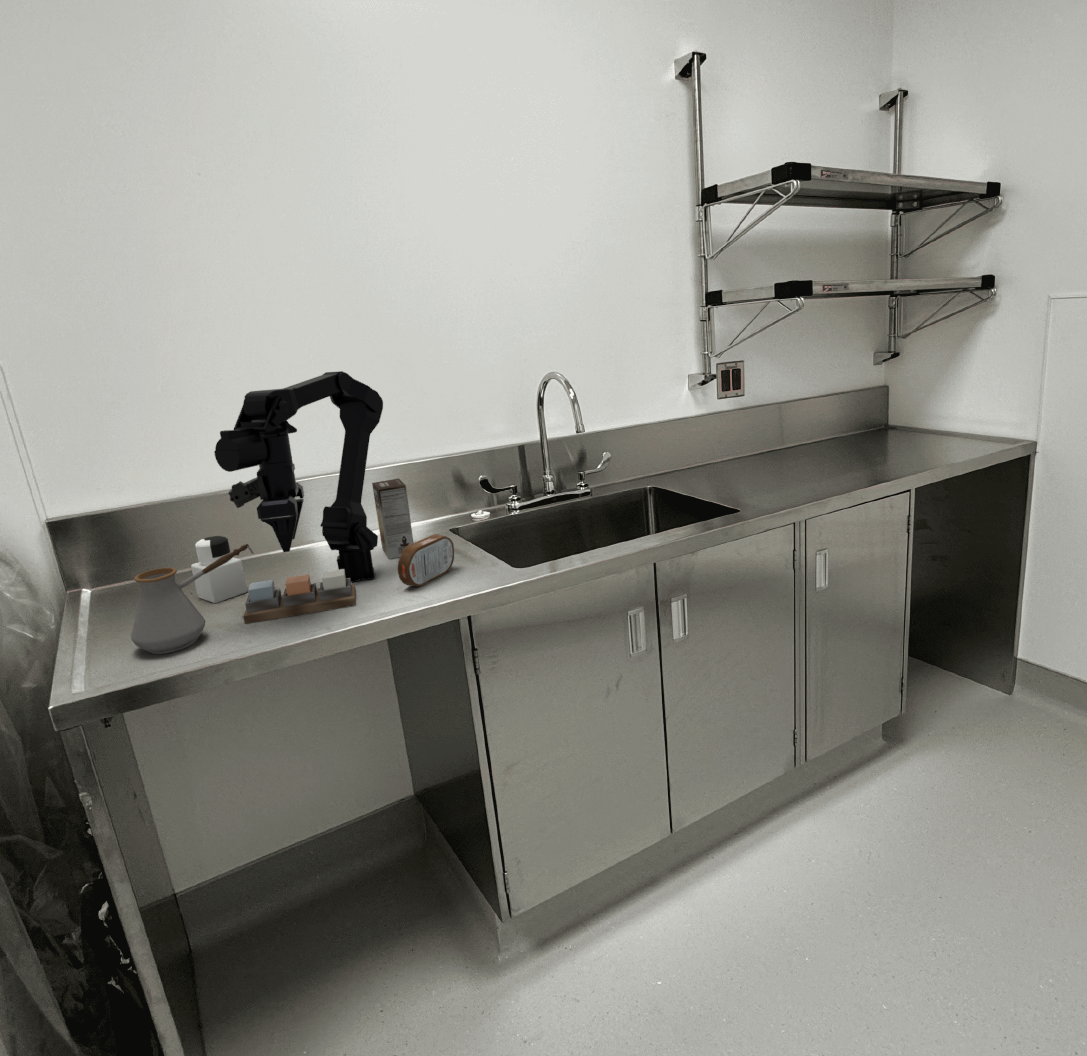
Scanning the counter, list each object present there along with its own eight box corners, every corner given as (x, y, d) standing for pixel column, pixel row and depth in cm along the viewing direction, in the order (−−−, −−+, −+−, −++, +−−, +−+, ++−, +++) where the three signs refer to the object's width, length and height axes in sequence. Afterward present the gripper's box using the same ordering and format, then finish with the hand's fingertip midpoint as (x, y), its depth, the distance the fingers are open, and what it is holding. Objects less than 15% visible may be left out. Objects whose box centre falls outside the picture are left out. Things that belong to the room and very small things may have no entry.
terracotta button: (311, 589, 140) (309, 574, 139) (310, 596, 136) (307, 580, 135) (289, 592, 139) (287, 577, 138) (288, 599, 135) (285, 584, 134)
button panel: (355, 590, 144) (352, 575, 143) (355, 605, 136) (352, 588, 135) (250, 607, 140) (247, 591, 139) (244, 623, 132) (241, 606, 131)
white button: (346, 583, 141) (344, 568, 140) (346, 590, 137) (344, 575, 137) (325, 586, 140) (322, 572, 139) (324, 593, 137) (321, 578, 136)
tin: (447, 567, 154) (442, 528, 152) (459, 568, 152) (454, 529, 150) (399, 591, 142) (393, 550, 140) (411, 593, 140) (405, 551, 138)
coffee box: (381, 549, 171) (371, 482, 166) (408, 544, 173) (398, 477, 169) (388, 559, 162) (377, 489, 158) (416, 554, 165) (407, 484, 160)
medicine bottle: (230, 586, 154) (219, 531, 150) (248, 592, 149) (236, 535, 146) (197, 597, 148) (184, 541, 145) (214, 604, 144) (201, 545, 141)
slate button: (276, 594, 138) (273, 579, 138) (274, 601, 135) (271, 586, 134) (253, 598, 138) (250, 583, 137) (251, 605, 134) (247, 590, 133)
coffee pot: (132, 665, 119) (109, 578, 114) (137, 640, 129) (116, 559, 125) (270, 633, 127) (254, 550, 123) (265, 612, 137) (249, 535, 133)
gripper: (236, 459, 138) (250, 539, 142) (217, 474, 121) (234, 565, 124) (298, 453, 141) (310, 531, 144) (288, 467, 123) (302, 556, 127)
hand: (289, 545), depth 135 cm, fingers open, 9 cm apart
